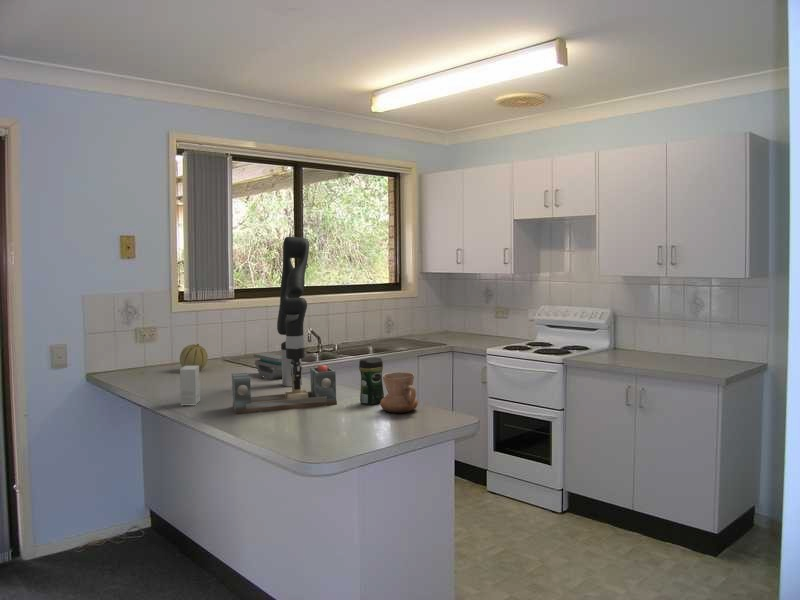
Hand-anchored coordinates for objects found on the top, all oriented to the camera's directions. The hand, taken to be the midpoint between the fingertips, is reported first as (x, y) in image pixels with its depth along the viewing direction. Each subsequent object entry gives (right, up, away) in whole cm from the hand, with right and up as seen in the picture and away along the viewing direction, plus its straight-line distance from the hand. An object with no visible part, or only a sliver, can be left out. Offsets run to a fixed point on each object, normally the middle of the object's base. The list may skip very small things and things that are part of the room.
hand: (296, 388), depth 260 cm
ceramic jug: (+42, -7, -15) cm, 45 cm away
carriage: (0, -5, 0) cm, 5 cm away
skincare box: (-45, -7, +5) cm, 46 cm away
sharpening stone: (-22, -3, +65) cm, 69 cm away
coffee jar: (+31, -6, 0) cm, 32 cm away
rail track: (-5, -7, -1) cm, 8 cm away
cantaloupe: (-70, -3, +86) cm, 111 cm away
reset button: (+10, +5, +3) cm, 12 cm away
